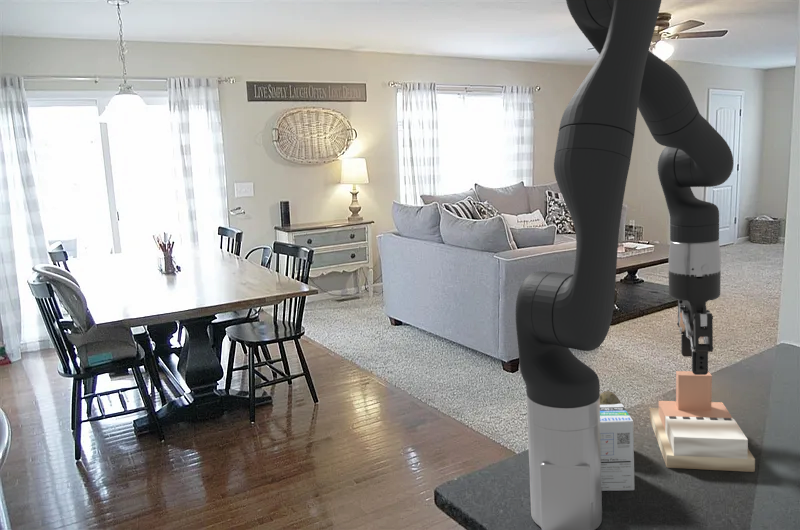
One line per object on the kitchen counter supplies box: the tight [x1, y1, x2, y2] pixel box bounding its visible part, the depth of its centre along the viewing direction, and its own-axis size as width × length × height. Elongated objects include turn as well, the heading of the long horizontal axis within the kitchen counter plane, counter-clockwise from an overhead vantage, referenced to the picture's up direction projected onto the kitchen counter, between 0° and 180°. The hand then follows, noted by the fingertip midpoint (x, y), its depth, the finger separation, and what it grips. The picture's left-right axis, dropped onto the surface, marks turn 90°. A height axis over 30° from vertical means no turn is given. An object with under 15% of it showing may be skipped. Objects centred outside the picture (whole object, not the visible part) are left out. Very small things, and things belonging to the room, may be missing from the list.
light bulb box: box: [600, 403, 635, 492], centre depth 91 cm, size 11×7×11 cm, turn 84°
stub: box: [658, 370, 733, 429], centre depth 102 cm, size 6×10×8 cm, turn 76°
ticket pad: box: [649, 407, 756, 473], centre depth 101 cm, size 18×12×5 cm, turn 166°
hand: (694, 364), depth 102 cm, fingers open, 8 cm apart
